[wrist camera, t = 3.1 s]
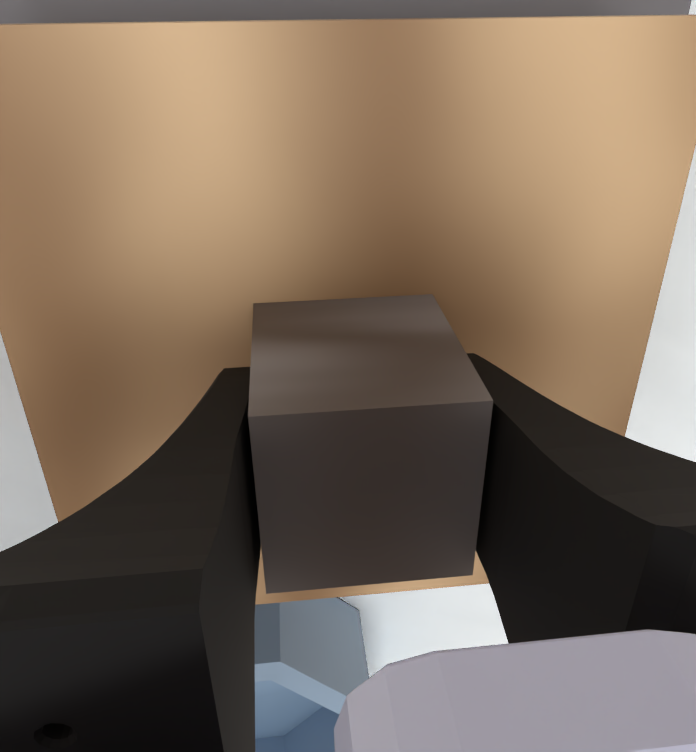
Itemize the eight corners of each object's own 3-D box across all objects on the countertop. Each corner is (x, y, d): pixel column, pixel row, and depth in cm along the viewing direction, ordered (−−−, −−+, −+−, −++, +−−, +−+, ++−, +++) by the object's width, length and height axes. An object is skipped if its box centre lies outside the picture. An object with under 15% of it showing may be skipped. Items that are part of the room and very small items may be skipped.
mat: (76, 541, 21) (73, 550, 21) (-109, -95, 13) (-119, -98, 13) (576, 501, 23) (581, 508, 22) (701, -94, 14) (712, -96, 14)
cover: (96, 588, 17) (39, 786, 13) (-63, 25, 11) (-291, 36, 6) (575, 546, 18) (671, 715, 14) (693, 14, 12) (941, 20, 7)
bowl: (127, 745, 27) (107, 854, 23) (78, 579, 22) (42, 685, 19) (359, 721, 28) (372, 822, 24) (358, 554, 23) (374, 652, 20)
